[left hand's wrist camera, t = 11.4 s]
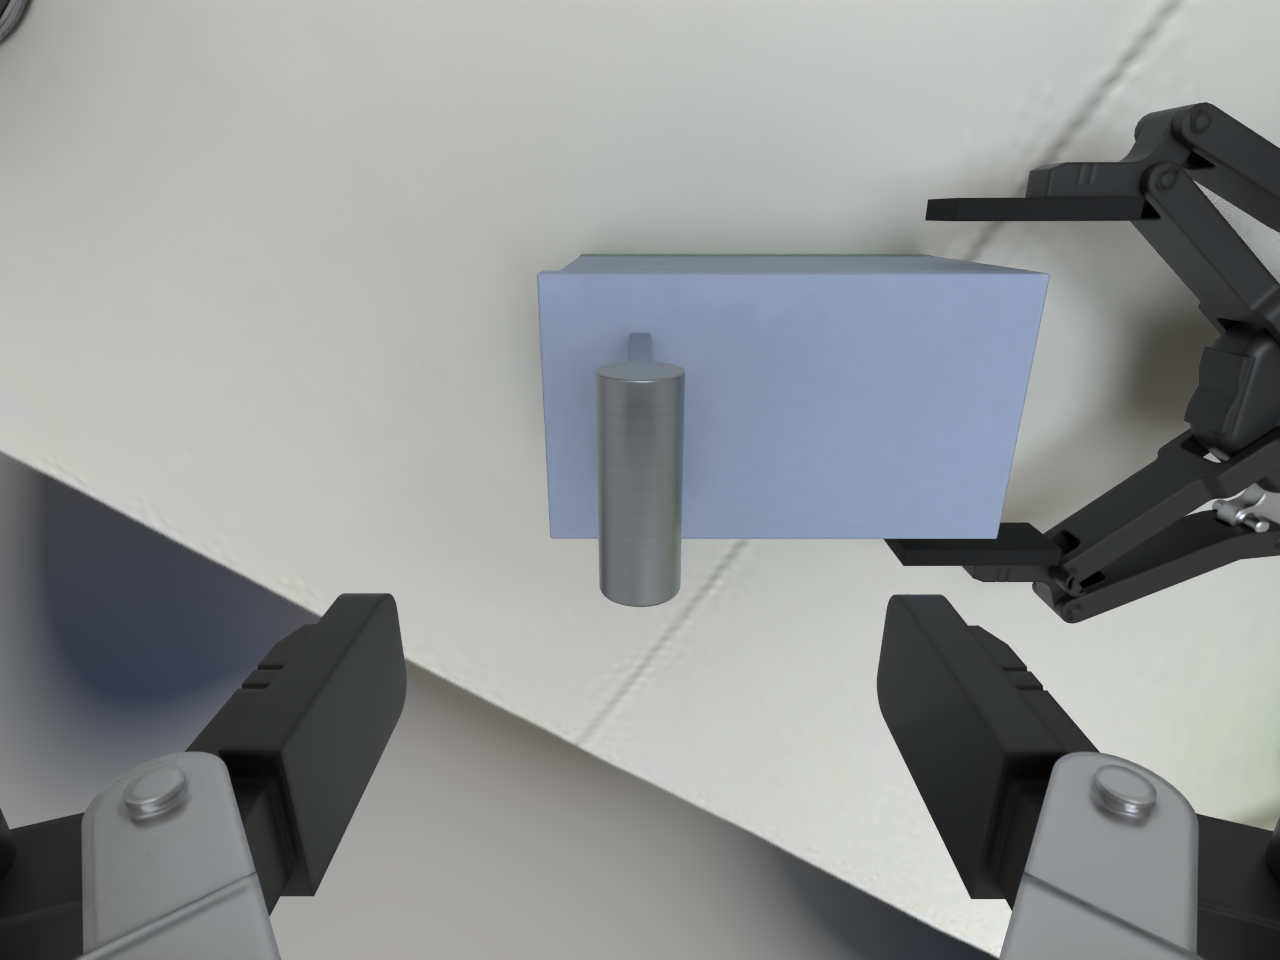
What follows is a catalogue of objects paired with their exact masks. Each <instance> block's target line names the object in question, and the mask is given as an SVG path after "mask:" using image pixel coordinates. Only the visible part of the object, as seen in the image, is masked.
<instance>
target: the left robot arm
mask: <svg viewBox="0 0 1280 960" xmlns="http://www.w3.org/2000/svg"><path fill="white" fill-rule="evenodd" d="M26 3H27V0H0V41H1V40H2V39H3V38H4V37H5V36H6V35H7V34H8V33H9V32H10V31H11V30H12V29H13V27H14V26H15V25H16V23H17V22H18V20H19V18H20V16H21V15H22V13H23V10H24V8H25V5H26ZM406 686H407V677H406V669H405V661H404V654H403V647H402V640H401V633H400V626H399V619H398V612H397V606H396V602H395V600H394V597H393V596H392V595H391V594H388V593H344V594H341V595H340V596H339V597H338V598H337V599H336V600H335V601H334V603H333V604H332V605H331V607H330V608H329V609H328V610H327V612H326V613H325V614H324V615H323V617H322V618H321V619H320V621H319V622H318V623H317V624H306V625H304V626H303V627H301V628H299V629H298V630H296V631H295V632H293V633H292V634H290V635H289V636H287V637H286V638H284V639H282V640H281V641H279V642H278V643H277V644H276V645H275V646H274V647H273V648H272V649H271V651H270V652H269V653H268V654H267V655H266V656H265V658H264V659H263V660H262V661H261V662H260V663H259V665H258V669H257V670H254V671H253V672H252V673H251V674H250V675H249V677H248V678H247V679H246V680H245V681H244V682H243V684H242V689H238V690H237V691H236V692H235V693H234V694H233V695H232V697H231V698H230V699H229V700H228V701H227V702H226V704H225V705H224V706H223V707H222V708H221V710H220V711H219V712H218V713H217V714H216V715H215V717H214V718H213V719H212V720H211V721H210V723H209V724H208V725H207V726H206V727H205V728H204V730H203V731H202V732H201V733H200V734H199V736H198V737H197V738H196V739H195V740H194V741H193V743H192V744H191V745H190V746H189V747H188V749H187V750H186V751H185V752H182V753H175V754H171V755H167V756H163V757H160V758H157V759H154V760H151V761H149V762H146V763H144V764H142V765H140V766H138V767H136V768H134V769H132V770H130V771H128V772H126V773H125V774H123V775H122V776H120V777H118V778H117V779H116V780H114V781H113V782H111V783H110V784H109V785H108V786H106V787H105V788H104V789H103V790H102V791H101V792H100V793H99V794H98V795H97V796H96V797H95V798H94V799H93V800H92V802H91V803H90V805H89V806H88V808H87V809H86V811H85V812H84V813H80V814H76V815H71V816H67V817H63V818H58V819H54V820H49V821H45V822H41V823H37V824H32V825H28V826H23V827H19V828H15V829H10V830H9V827H8V825H7V823H6V820H5V818H4V816H3V813H2V811H1V809H0V960H281V957H280V954H279V950H278V947H277V943H276V939H275V936H274V932H273V929H272V925H271V922H270V918H269V916H270V915H271V913H272V911H273V909H274V907H275V905H276V903H277V901H278V899H279V897H280V896H314V895H315V893H316V891H317V889H318V887H319V885H320V883H321V881H322V879H323V876H324V874H325V872H326V870H327V868H328V866H329V864H330V862H331V860H332V858H333V855H334V853H335V851H336V849H337V847H338V845H339V843H340V841H341V839H342V837H343V835H344V833H345V830H346V828H347V826H348V824H349V822H350V820H351V818H352V816H353V814H354V812H355V809H356V807H357V805H358V803H359V801H360V799H361V797H362V795H363V793H364V791H365V789H366V786H367V784H368V782H369V780H370V778H371V776H372V774H373V772H374V770H375V768H376V766H377V763H378V761H379V759H380V757H381V755H382V753H383V751H384V749H385V747H386V745H387V742H388V740H389V738H390V736H391V734H392V732H393V730H394V728H395V726H396V724H397V722H398V719H399V717H400V715H401V713H402V710H403V706H404V702H405V697H406ZM877 694H878V701H879V705H880V709H881V712H882V715H883V717H884V720H885V722H886V724H887V726H888V728H889V730H890V732H891V734H892V736H893V738H894V740H895V742H896V744H897V746H898V749H899V751H900V753H901V755H902V757H903V759H904V761H905V763H906V765H907V767H908V769H909V771H910V773H911V775H912V777H913V780H914V782H915V784H916V786H917V788H918V790H919V792H920V794H921V796H922V798H923V800H924V802H925V804H926V806H927V808H928V811H929V813H930V815H931V817H932V819H933V821H934V823H935V825H936V827H937V829H938V831H939V833H940V835H941V837H942V840H943V842H944V844H945V846H946V848H947V850H948V852H949V854H950V856H951V858H952V860H953V862H954V864H955V866H956V868H957V871H958V873H959V875H960V877H961V879H962V881H963V883H964V885H965V887H966V889H967V891H968V893H969V895H970V897H971V899H1006V901H1007V903H1008V905H1009V906H1010V908H1011V910H1012V914H1011V918H1010V922H1009V925H1008V929H1007V932H1006V936H1005V939H1004V943H1003V947H1002V950H1001V954H1000V957H999V960H1280V818H1279V820H1278V822H1277V825H1276V827H1275V829H1274V831H1269V830H1265V829H1261V828H1256V827H1252V826H1247V825H1243V824H1239V823H1234V822H1230V821H1226V820H1221V819H1217V818H1213V817H1208V816H1204V815H1200V814H1197V813H1195V811H1194V809H1193V808H1192V806H1191V805H1190V803H1189V802H1188V800H1187V799H1186V798H1185V797H1184V796H1183V795H1182V794H1181V793H1180V792H1179V791H1178V790H1177V789H1176V788H1175V787H1174V786H1173V785H1171V784H1170V783H1169V782H1167V781H1166V780H1164V779H1163V778H1162V777H1160V776H1158V775H1157V774H1155V773H1154V772H1152V771H1150V770H1148V769H1146V768H1144V767H1142V766H1140V765H1138V764H1136V763H1134V762H1131V761H1129V760H1126V759H1123V758H1120V757H1117V756H1113V755H1109V754H1105V753H1100V752H1099V751H1098V750H1097V748H1096V747H1095V746H1094V745H1093V744H1092V743H1091V741H1090V740H1089V739H1088V738H1087V737H1086V736H1085V734H1084V733H1083V732H1082V731H1081V730H1080V729H1079V727H1078V726H1077V725H1076V724H1075V723H1074V722H1073V720H1072V719H1071V718H1070V717H1069V716H1068V714H1067V713H1066V712H1065V711H1064V710H1063V709H1062V707H1061V706H1060V705H1059V704H1058V703H1057V702H1056V700H1055V699H1054V698H1053V697H1052V696H1051V695H1050V693H1049V692H1048V691H1044V690H1043V685H1042V684H1041V683H1040V682H1039V681H1038V679H1037V678H1036V677H1035V676H1034V675H1033V674H1032V672H1031V671H1027V666H1026V665H1025V664H1024V663H1023V662H1022V661H1021V659H1020V658H1019V657H1018V656H1017V655H1016V654H1015V652H1014V651H1013V650H1012V649H1011V648H1010V647H1009V645H1008V644H1006V643H1004V642H1003V641H1001V640H1000V639H998V638H997V637H995V636H994V635H992V634H991V633H989V632H987V631H986V630H984V629H983V628H981V627H980V626H968V625H967V624H966V623H965V621H964V620H963V619H962V618H961V616H960V615H959V614H958V613H957V611H956V610H955V609H954V608H953V606H952V605H951V604H950V603H949V601H948V600H947V599H946V598H945V597H944V596H942V595H893V596H892V597H891V598H890V600H889V603H888V606H887V612H886V619H885V625H884V632H883V639H882V646H881V653H880V660H879V667H878V674H877Z"/></svg>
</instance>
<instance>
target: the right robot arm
mask: <svg viewBox="0 0 1280 960" xmlns="http://www.w3.org/2000/svg"><path fill="white" fill-rule="evenodd" d="M1134 137H1135V140H1136V142H1135V144H1134V146H1133V148H1132V149H1131V151H1130V152H1129V154H1128V155H1127V156H1126V157H1125V158H1124V159H1122V160H1121V161H1119V162H1083V163H1082V162H1066V163H1058V164H1050V165H1044V166H1041V167H1039V168H1036V169H1034V170H1031V171H1030V174H1029V180H1028V186H1027V191H1026V197H1025V198H949V199H929V200H928V204H927V211H926V219H925V220H929V221H1131V223H1132V224H1133V225H1134V226H1135V227H1136V228H1137V229H1138V231H1139V232H1140V233H1141V234H1142V235H1143V236H1144V237H1145V239H1146V240H1147V241H1148V242H1149V243H1150V244H1151V245H1152V247H1153V248H1154V249H1155V250H1156V251H1157V252H1158V253H1159V255H1160V256H1161V257H1162V258H1163V259H1164V260H1165V261H1166V262H1167V264H1168V265H1169V266H1170V267H1171V268H1172V269H1173V270H1174V272H1175V273H1176V274H1177V275H1178V276H1179V277H1180V278H1181V280H1182V281H1183V282H1184V283H1185V284H1186V285H1187V286H1188V288H1189V289H1190V290H1191V291H1192V292H1193V293H1194V294H1195V295H1196V297H1197V298H1198V299H1199V300H1200V302H1201V304H1200V305H1199V309H1200V310H1201V311H1202V312H1203V314H1204V315H1205V316H1206V317H1207V318H1208V319H1209V320H1210V322H1211V323H1212V324H1213V325H1214V326H1215V327H1216V328H1217V329H1218V331H1219V332H1220V333H1221V334H1222V335H1221V336H1220V337H1219V338H1218V339H1217V341H1216V342H1215V343H1214V345H1213V346H1212V347H1205V348H1204V352H1203V355H1202V359H1201V362H1200V366H1199V386H1198V388H1197V389H1196V391H1195V393H1194V395H1193V397H1192V398H1191V400H1190V402H1189V404H1188V408H1187V411H1186V415H1185V418H1184V421H1186V422H1189V423H1190V426H1191V428H1190V429H1189V430H1187V431H1185V432H1184V433H1182V434H1181V435H1179V436H1178V437H1176V438H1175V439H1173V440H1172V441H1170V442H1169V443H1167V444H1166V445H1164V446H1163V447H1162V448H1160V449H1159V451H1158V458H1157V459H1156V460H1155V461H1153V462H1152V463H1150V464H1149V465H1147V466H1146V467H1144V468H1143V469H1141V470H1140V471H1138V472H1137V473H1135V474H1134V475H1132V476H1131V477H1129V478H1128V479H1126V480H1125V481H1123V482H1122V483H1120V484H1118V485H1117V486H1115V487H1114V488H1112V489H1111V490H1109V491H1108V492H1106V493H1105V494H1103V495H1102V496H1100V497H1099V498H1097V499H1096V500H1094V501H1093V502H1091V503H1090V504H1088V505H1087V506H1085V507H1083V508H1082V509H1080V510H1079V511H1077V512H1076V513H1074V514H1073V515H1071V516H1070V517H1068V518H1067V519H1065V520H1064V521H1062V522H1061V523H1059V524H1058V525H1056V526H1055V527H1053V528H1052V529H1050V530H1048V531H1047V532H1045V533H1044V534H1042V533H1041V532H1039V531H1038V530H1037V529H1036V528H1034V527H1033V526H1032V525H1031V524H1029V523H1000V525H999V530H998V535H997V538H996V539H884V540H885V542H886V543H887V544H888V546H889V547H890V548H891V550H892V551H893V552H894V554H895V555H896V556H897V558H898V559H899V560H900V562H901V563H902V564H903V566H962V567H963V568H964V569H965V570H966V571H967V572H968V573H969V574H970V575H971V576H972V578H974V579H977V580H980V581H982V582H996V581H997V582H1005V581H1007V582H1033V584H1032V589H1033V591H1034V592H1035V593H1036V594H1037V595H1038V596H1039V597H1040V598H1041V599H1042V600H1043V601H1044V602H1045V603H1046V604H1047V605H1048V606H1049V607H1050V608H1051V609H1052V610H1053V611H1054V612H1055V613H1056V614H1057V615H1058V616H1060V617H1061V618H1062V619H1063V620H1064V621H1065V622H1067V623H1077V622H1080V621H1083V620H1085V619H1088V618H1091V617H1093V616H1096V615H1098V614H1101V613H1103V612H1106V611H1109V610H1111V609H1114V608H1116V607H1119V606H1121V605H1124V604H1127V603H1129V602H1132V601H1134V600H1137V599H1139V598H1142V597H1145V596H1147V595H1150V594H1152V593H1155V592H1157V591H1160V590H1163V589H1165V588H1168V587H1170V586H1173V585H1175V584H1178V583H1181V582H1183V581H1186V580H1188V579H1191V578H1193V577H1196V576H1199V575H1201V574H1204V573H1206V572H1209V571H1211V570H1214V569H1217V568H1219V567H1222V566H1224V565H1227V564H1229V563H1232V562H1235V561H1237V560H1240V559H1249V558H1259V557H1268V556H1278V555H1280V284H1279V283H1278V282H1277V281H1276V280H1275V278H1274V277H1273V276H1272V275H1271V274H1270V272H1269V271H1268V270H1267V269H1266V268H1265V266H1264V265H1263V264H1262V263H1261V262H1260V260H1259V259H1258V258H1257V257H1256V255H1255V254H1254V253H1253V252H1252V251H1251V249H1250V248H1249V247H1248V246H1247V245H1246V243H1245V242H1244V241H1243V240H1242V239H1241V237H1240V236H1239V235H1238V234H1237V233H1236V231H1235V230H1234V229H1233V228H1232V227H1231V225H1230V224H1229V223H1228V222H1227V221H1226V219H1225V218H1224V217H1223V216H1222V215H1221V213H1220V212H1219V211H1218V210H1217V209H1216V207H1215V206H1214V205H1213V204H1212V203H1211V201H1210V200H1209V199H1208V198H1207V197H1206V195H1205V194H1204V193H1203V192H1202V191H1201V189H1200V188H1199V187H1198V186H1197V185H1196V183H1195V182H1194V181H1196V182H1198V183H1199V184H1201V185H1202V186H1204V187H1206V188H1207V189H1209V190H1210V191H1212V192H1214V193H1215V194H1217V195H1218V196H1220V197H1222V198H1223V199H1225V200H1226V201H1228V202H1230V203H1231V204H1233V205H1234V206H1236V207H1238V208H1239V209H1241V210H1242V211H1244V212H1246V213H1247V214H1249V215H1250V216H1252V217H1253V218H1255V219H1257V220H1258V221H1260V222H1261V223H1263V224H1265V225H1266V226H1268V227H1270V228H1271V229H1273V230H1275V231H1277V232H1279V233H1280V148H1278V147H1277V146H1275V145H1274V144H1272V143H1271V142H1269V141H1268V140H1266V139H1265V138H1263V137H1261V136H1260V135H1258V134H1257V133H1255V132H1254V131H1252V130H1251V129H1249V128H1248V127H1246V126H1245V125H1243V124H1242V123H1240V122H1238V121H1237V120H1235V119H1234V118H1232V117H1231V116H1229V115H1228V114H1226V113H1225V112H1223V111H1222V110H1220V109H1219V108H1217V107H1215V106H1214V105H1212V104H1209V103H1206V102H1205V103H1198V104H1193V105H1188V106H1183V107H1178V108H1173V109H1167V110H1163V111H1158V112H1153V113H1149V114H1147V115H1146V116H1144V117H1143V118H1142V119H1141V120H1140V121H1139V122H1138V124H1137V126H1136V128H1135V134H1134ZM1192 179H1193V180H1194V181H1193V180H1192ZM1208 453H1211V454H1213V455H1214V456H1215V457H1216V458H1217V459H1218V460H1220V461H1221V462H1220V463H1216V462H1212V461H1210V460H1208V459H1206V458H1203V457H1204V456H1205V455H1207V454H1208ZM1246 488H1247V489H1246ZM1244 489H1246V490H1245V492H1244V493H1243V494H1242V495H1241V496H1239V497H1237V498H1235V499H1232V500H1229V501H1225V500H1222V499H1225V498H1229V497H1232V496H1234V495H1236V494H1238V493H1240V492H1241V491H1243V490H1244ZM1212 499H1221V500H1217V501H1215V502H1214V503H1213V505H1212V509H1213V510H1208V511H1202V512H1198V513H1194V514H1190V515H1188V516H1186V515H1187V514H1189V513H1191V512H1192V511H1194V510H1195V509H1197V508H1199V507H1200V506H1202V505H1203V504H1205V503H1206V502H1208V501H1210V500H1212ZM1184 516H1185V517H1184Z"/></svg>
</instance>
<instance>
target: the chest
mask: <svg viewBox="0 0 1280 960" xmlns="http://www.w3.org/2000/svg"><path fill="white" fill-rule="evenodd" d="M561 271H1029V270H1022V269H1015V268H1008V267H1001V266H994V265H988V264H981V263H974V262H967V261H960V260H953V259H946V258H940V257H933V256H929V255H581V256H580V257H579V258H578V259H576V260H575V261H574V262H572V263H571V264H569V265H568V266H566V267H565V268H564V269H562V270H561Z"/></svg>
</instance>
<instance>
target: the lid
mask: <svg viewBox="0 0 1280 960" xmlns="http://www.w3.org/2000/svg"><path fill="white" fill-rule="evenodd" d="M1049 277H1050V274H1048V273H1042V272H1035V271H542V272H540V273H539V274H538V275H537V281H538V301H539V321H540V341H541V360H542V380H543V400H544V420H545V440H546V460H547V479H548V499H549V519H550V537H551V538H599V573H600V589H601V591H602V593H603V594H604V596H605V597H607V598H608V599H610V600H611V601H613V602H616V603H618V604H622V605H626V606H634V607H646V606H654V605H658V604H662V603H664V602H667V601H669V600H671V599H672V598H673V597H675V596H676V594H677V593H678V591H679V589H680V573H681V539H996V538H997V535H998V530H999V525H1000V520H1001V515H1002V510H1003V505H1004V500H1005V495H1006V490H1007V485H1008V480H1009V475H1010V471H1011V466H1012V461H1013V456H1014V451H1015V446H1016V441H1017V436H1018V431H1019V426H1020V421H1021V416H1022V411H1023V406H1024V401H1025V396H1026V391H1027V386H1028V381H1029V376H1030V371H1031V366H1032V361H1033V356H1034V352H1035V347H1036V342H1037V337H1038V332H1039V327H1040V322H1041V317H1042V312H1043V307H1044V302H1045V297H1046V292H1047V287H1048V282H1049Z"/></svg>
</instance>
